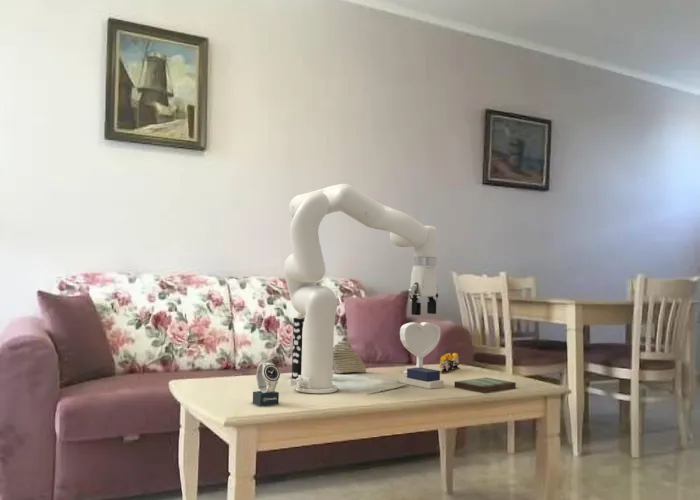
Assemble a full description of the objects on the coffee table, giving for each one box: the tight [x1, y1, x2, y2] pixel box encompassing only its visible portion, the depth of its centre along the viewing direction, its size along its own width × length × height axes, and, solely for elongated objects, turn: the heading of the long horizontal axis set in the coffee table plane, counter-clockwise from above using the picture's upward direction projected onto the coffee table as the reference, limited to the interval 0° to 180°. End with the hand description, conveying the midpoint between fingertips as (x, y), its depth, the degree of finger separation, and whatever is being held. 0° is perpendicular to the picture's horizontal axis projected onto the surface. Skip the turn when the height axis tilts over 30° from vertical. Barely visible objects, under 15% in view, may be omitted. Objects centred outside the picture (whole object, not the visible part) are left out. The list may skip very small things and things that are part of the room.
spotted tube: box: [291, 317, 305, 379], centre depth 227 cm, size 8×8×20 cm
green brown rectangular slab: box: [454, 377, 517, 394], centre depth 217 cm, size 16×12×2 cm
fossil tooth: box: [333, 340, 367, 375], centre depth 241 cm, size 12×6×15 cm
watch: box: [252, 361, 282, 407], centre depth 183 cm, size 6×8×11 cm
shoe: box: [398, 367, 444, 390], centre depth 220 cm, size 14×6×5 cm, turn 40°
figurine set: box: [439, 352, 461, 374], centre depth 253 cm, size 3×16×7 cm, turn 151°
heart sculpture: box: [399, 321, 442, 374], centre depth 248 cm, size 16×5×18 cm, turn 117°
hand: (423, 314), depth 225 cm, fingers open, 9 cm apart
